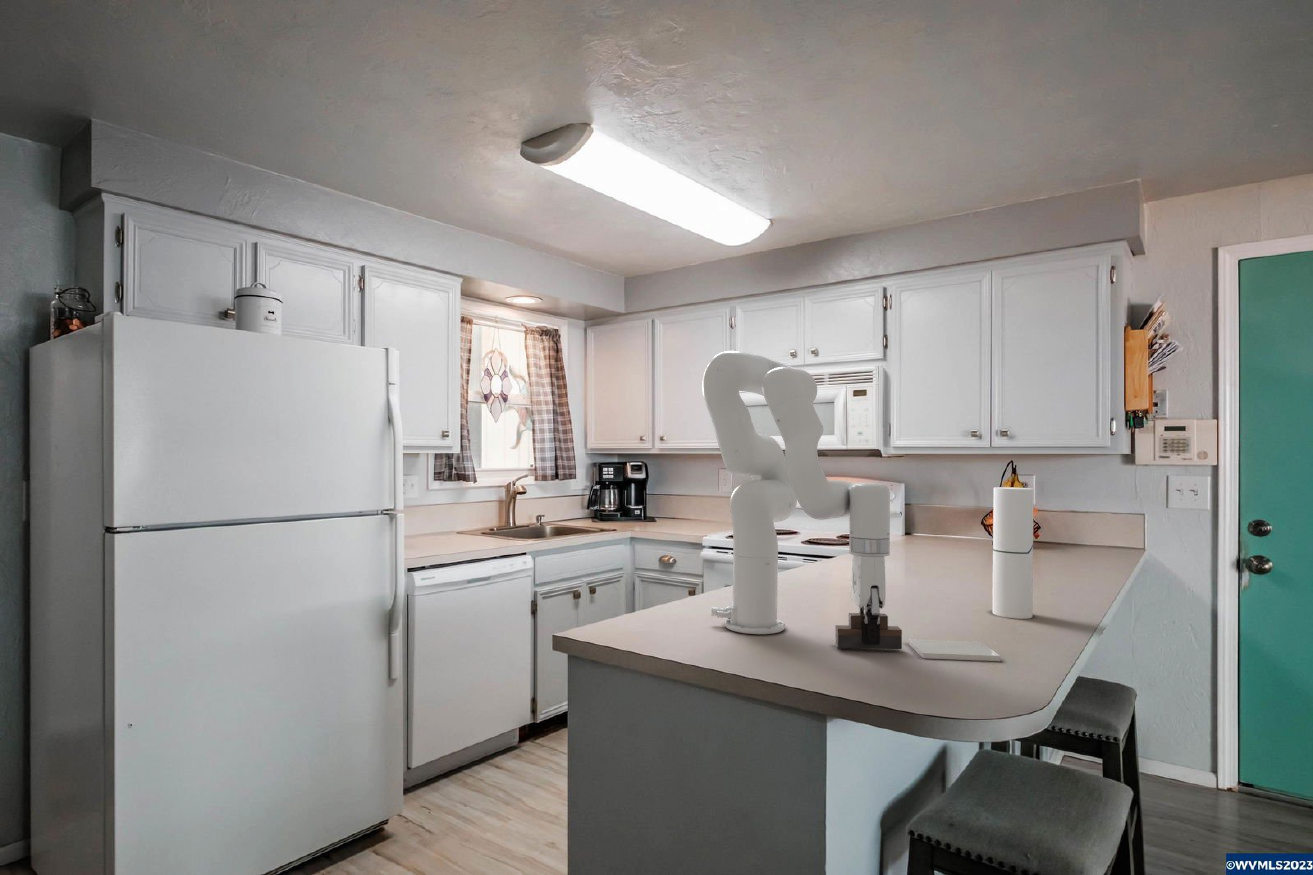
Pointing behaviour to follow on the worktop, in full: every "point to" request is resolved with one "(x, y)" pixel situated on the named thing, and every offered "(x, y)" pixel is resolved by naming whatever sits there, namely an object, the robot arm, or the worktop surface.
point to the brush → (853, 634)
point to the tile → (953, 650)
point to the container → (1013, 552)
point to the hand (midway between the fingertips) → (868, 641)
